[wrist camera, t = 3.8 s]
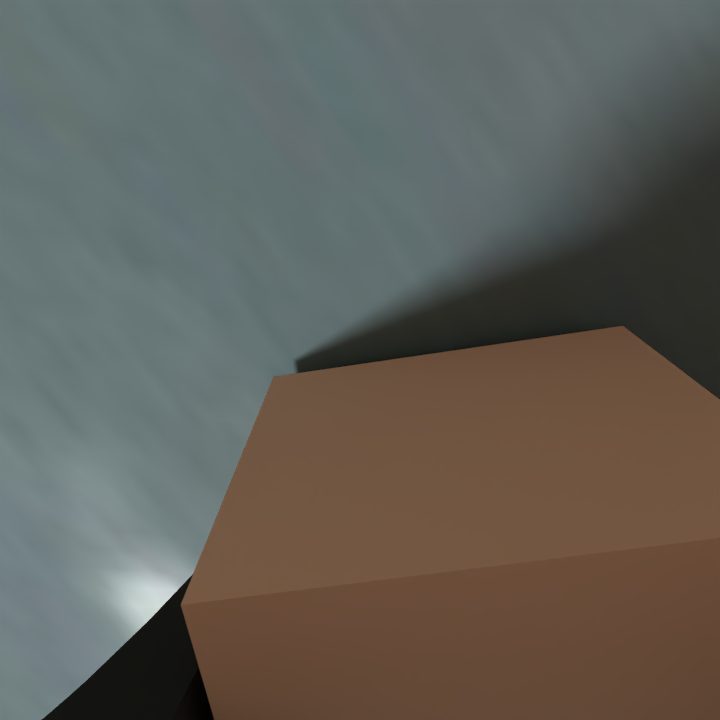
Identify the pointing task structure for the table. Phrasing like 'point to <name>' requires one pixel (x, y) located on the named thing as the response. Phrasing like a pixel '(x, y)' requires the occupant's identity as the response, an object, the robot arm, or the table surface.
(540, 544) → the terracotta block
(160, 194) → the table surface
